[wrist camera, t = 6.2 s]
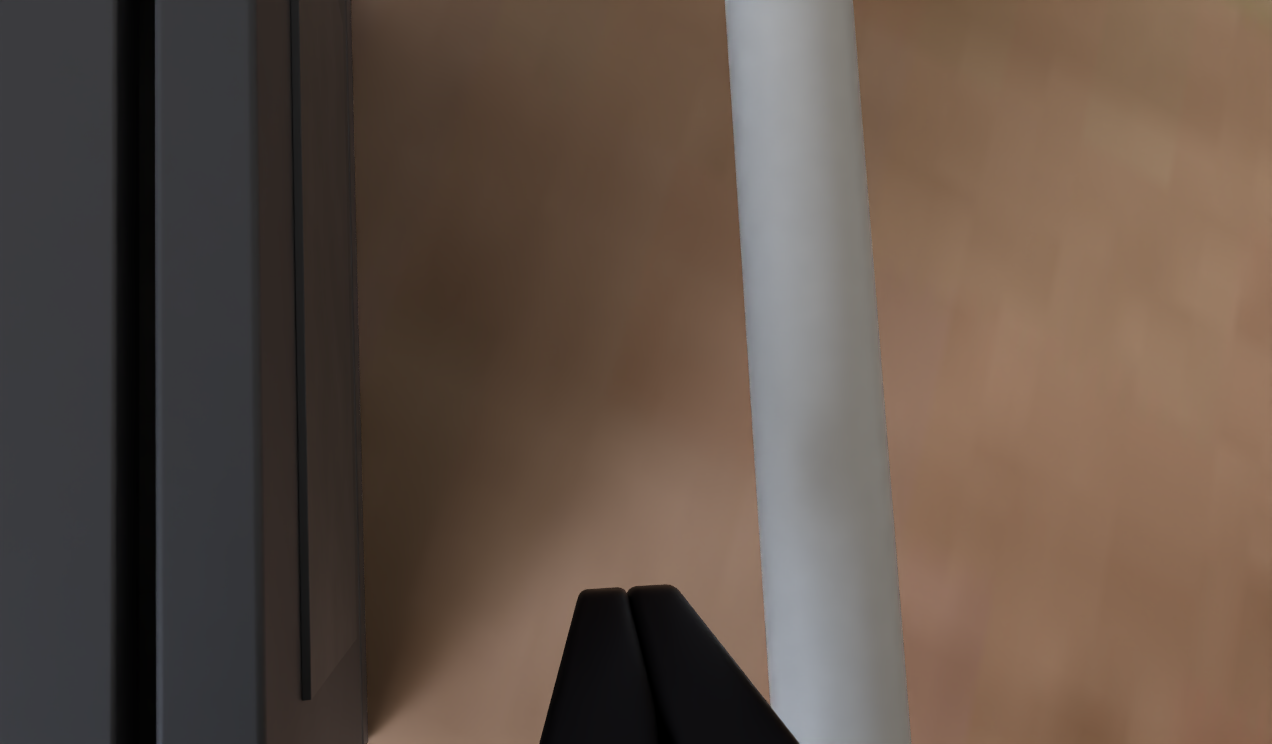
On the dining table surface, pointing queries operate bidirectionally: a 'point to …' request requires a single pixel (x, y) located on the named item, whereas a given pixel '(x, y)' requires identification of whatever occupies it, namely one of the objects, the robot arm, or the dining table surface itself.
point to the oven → (87, 372)
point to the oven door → (324, 376)
